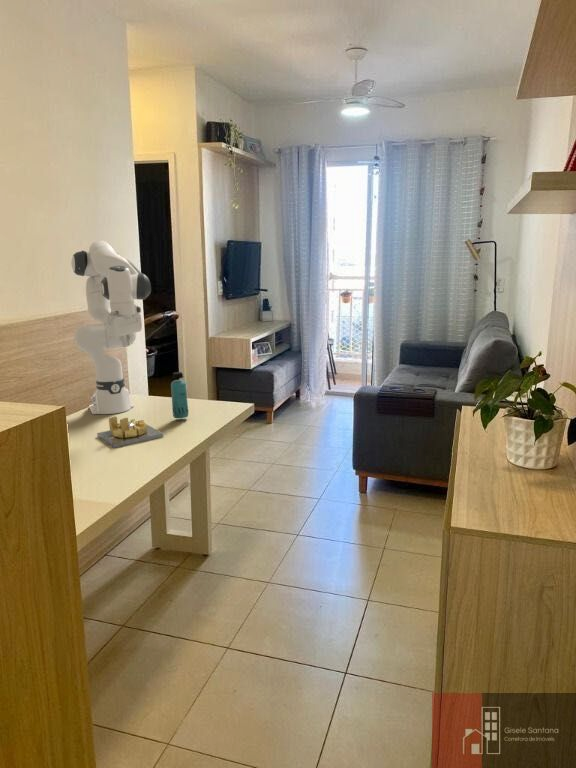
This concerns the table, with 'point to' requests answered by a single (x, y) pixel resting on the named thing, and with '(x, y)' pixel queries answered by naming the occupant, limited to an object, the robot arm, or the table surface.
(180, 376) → the beverage bottle
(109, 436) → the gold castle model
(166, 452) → the table surface
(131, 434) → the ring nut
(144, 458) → the table surface
